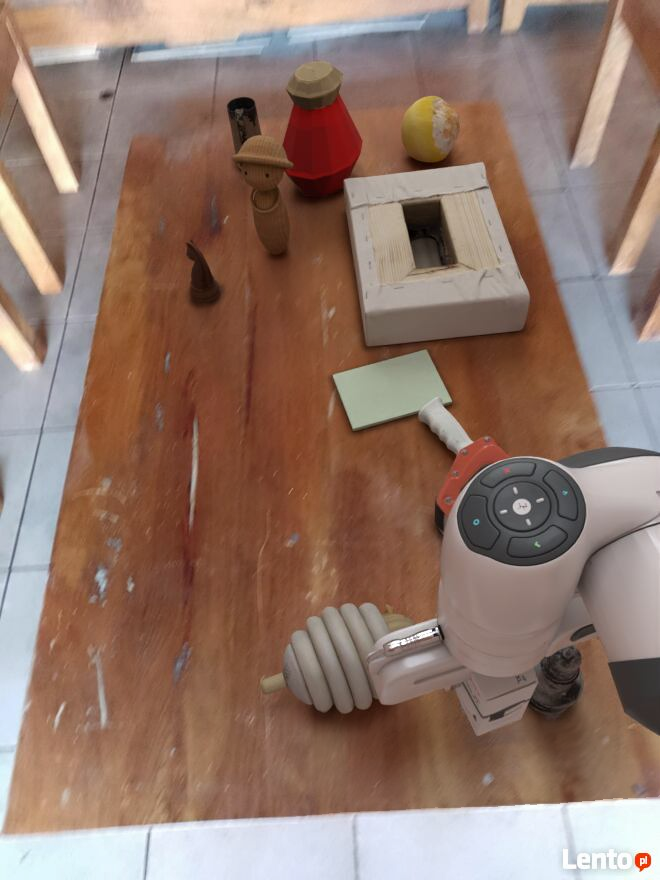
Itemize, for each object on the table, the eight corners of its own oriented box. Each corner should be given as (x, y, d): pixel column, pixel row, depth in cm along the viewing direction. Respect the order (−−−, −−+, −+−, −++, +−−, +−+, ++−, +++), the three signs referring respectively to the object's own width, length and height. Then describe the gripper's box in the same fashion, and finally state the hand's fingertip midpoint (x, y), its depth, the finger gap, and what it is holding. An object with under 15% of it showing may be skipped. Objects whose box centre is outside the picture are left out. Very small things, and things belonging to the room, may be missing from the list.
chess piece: (209, 279, 115) (194, 228, 107) (228, 294, 112) (214, 244, 104) (186, 294, 113) (169, 243, 105) (204, 310, 111) (189, 259, 103)
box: (527, 332, 103) (479, 195, 122) (535, 293, 97) (483, 154, 115) (367, 354, 104) (343, 213, 122) (364, 316, 97) (340, 174, 116)
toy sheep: (438, 685, 76) (444, 650, 66) (293, 761, 72) (278, 735, 63) (391, 601, 81) (390, 558, 72) (254, 668, 78) (235, 632, 69)
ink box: (436, 653, 71) (439, 608, 61) (481, 635, 71) (492, 587, 62) (475, 739, 66) (485, 704, 56) (523, 719, 66) (541, 681, 57)
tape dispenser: (424, 411, 98) (384, 532, 87) (424, 384, 94) (382, 508, 82) (556, 435, 93) (533, 566, 82) (562, 407, 89) (539, 542, 78)
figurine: (244, 262, 116) (220, 151, 100) (259, 233, 120) (237, 122, 104) (297, 269, 115) (281, 157, 98) (310, 239, 118) (296, 127, 102)
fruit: (405, 177, 126) (405, 124, 118) (397, 142, 132) (397, 89, 124) (463, 170, 126) (467, 117, 118) (452, 136, 132) (456, 83, 124)
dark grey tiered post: (517, 658, 77) (534, 616, 67) (573, 663, 76) (599, 621, 66) (519, 715, 73) (537, 680, 63) (578, 720, 72) (606, 686, 63)
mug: (237, 153, 134) (224, 91, 124) (266, 150, 134) (256, 88, 124) (235, 179, 130) (222, 117, 120) (265, 176, 129) (255, 113, 120)
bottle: (323, 147, 133) (313, 36, 117) (380, 172, 127) (378, 59, 111) (265, 191, 127) (246, 80, 111) (322, 219, 121) (311, 106, 105)
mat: (426, 351, 102) (426, 349, 102) (452, 403, 97) (452, 401, 96) (332, 377, 101) (332, 374, 101) (353, 431, 95) (353, 428, 95)
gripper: (378, 696, 51) (385, 741, 62) (642, 609, 53) (602, 668, 64) (351, 615, 55) (362, 672, 66) (599, 536, 56) (569, 604, 68)
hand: (482, 669), depth 65 cm, fingers closed on ink box, 5 cm apart
